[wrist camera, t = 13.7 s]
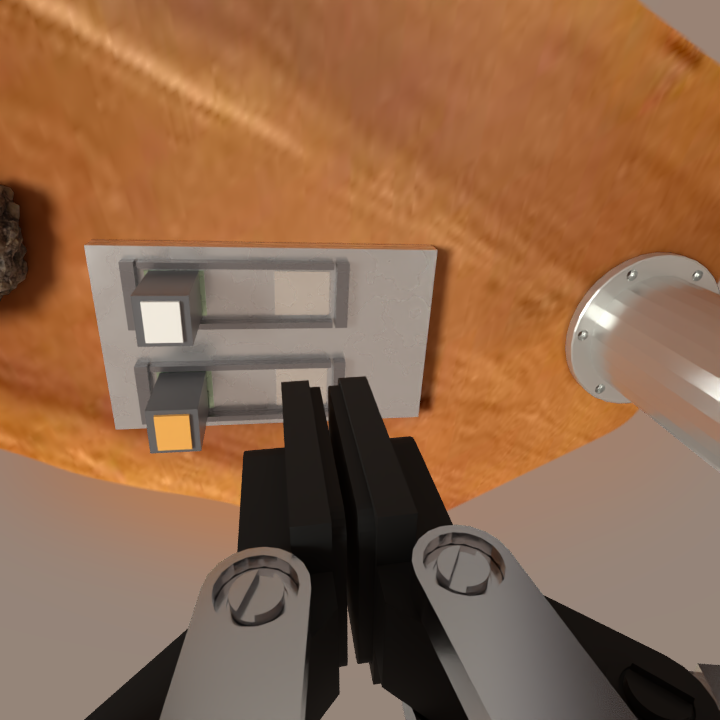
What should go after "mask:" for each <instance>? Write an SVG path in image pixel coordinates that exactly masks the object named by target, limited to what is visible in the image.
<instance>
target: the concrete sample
mask: <svg viewBox="0 0 720 720" xmlns="http://www.w3.org/2000/svg"><path fill="white" fill-rule="evenodd" d="M13 196H14V192H13V191H12V189H11V188H10V187H6V186H3V185H0V301H1V298H2V297H3V296H2V295H7V294H9V293H10V292H11V291H12V290H13V289H15V288H16V287H17V285H18V284H19V283H20V282H22V281H23V280H25V278H26V275H27V271H28V268H27V262H26V261H25V260H24V259H23V257H24V255H25V254H26V252H27V249H26V247H25V246H24V245H23V243H22V242H23V237H22V234H21V228H20V227H19V218H20V211H19V205H17V204H16V203H14V202H13Z"/></svg>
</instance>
